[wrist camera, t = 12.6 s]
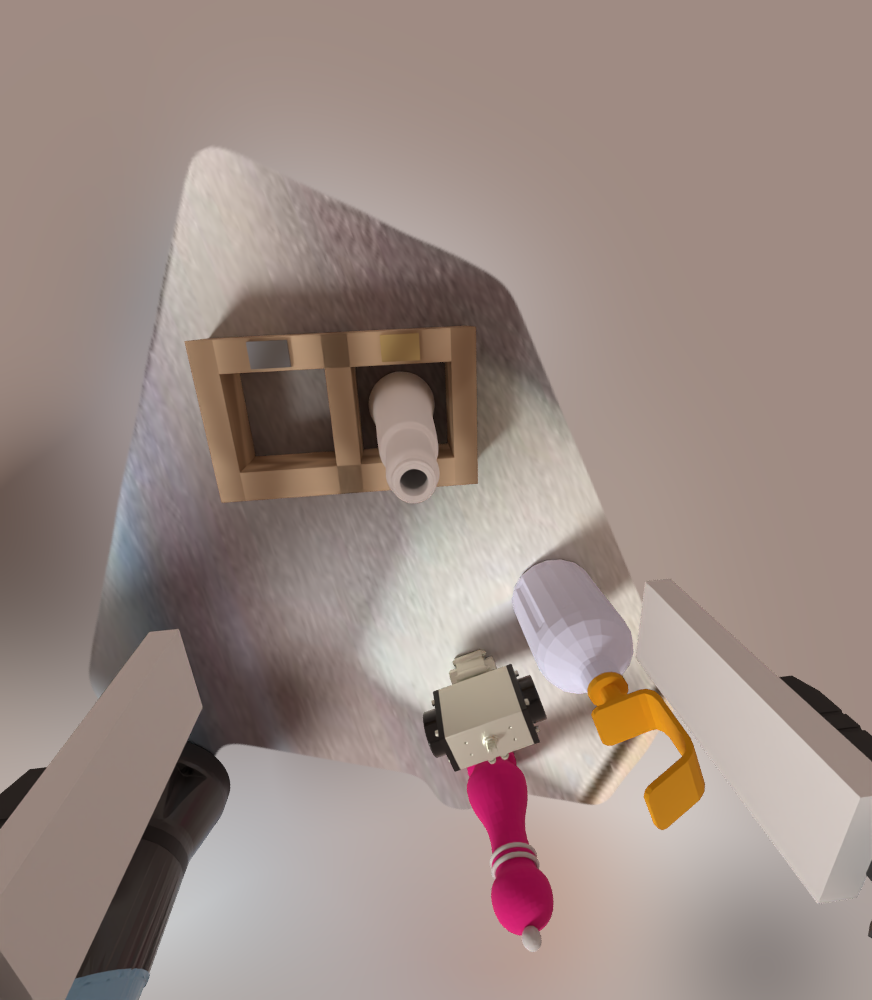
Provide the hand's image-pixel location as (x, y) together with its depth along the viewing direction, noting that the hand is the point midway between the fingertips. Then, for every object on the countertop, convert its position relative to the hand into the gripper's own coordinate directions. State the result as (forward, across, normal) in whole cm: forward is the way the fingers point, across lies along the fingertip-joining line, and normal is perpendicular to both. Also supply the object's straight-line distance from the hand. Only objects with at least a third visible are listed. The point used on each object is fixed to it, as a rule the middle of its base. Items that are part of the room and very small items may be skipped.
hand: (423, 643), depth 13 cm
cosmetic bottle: (+33, 0, -1) cm, 33 cm away
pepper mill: (+33, -8, +45) cm, 56 cm away
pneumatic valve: (+33, -6, +30) cm, 45 cm away
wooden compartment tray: (+32, +4, -1) cm, 33 cm away
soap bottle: (+33, -16, +21) cm, 42 cm away
